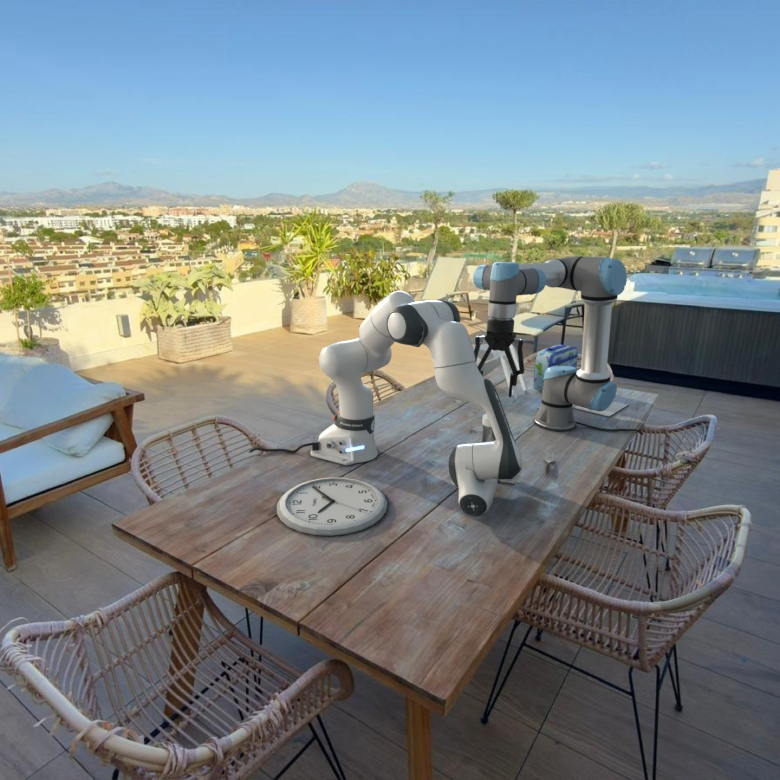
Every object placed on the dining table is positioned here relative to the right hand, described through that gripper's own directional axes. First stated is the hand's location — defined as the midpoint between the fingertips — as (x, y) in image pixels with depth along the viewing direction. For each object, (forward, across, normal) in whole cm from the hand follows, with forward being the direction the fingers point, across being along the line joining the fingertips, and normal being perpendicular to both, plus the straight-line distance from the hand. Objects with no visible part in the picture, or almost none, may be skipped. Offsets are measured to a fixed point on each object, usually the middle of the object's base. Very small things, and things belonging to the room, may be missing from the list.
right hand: (494, 394), depth 155 cm
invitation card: (+26, -39, -81) cm, 94 cm away
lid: (+7, 0, 0) cm, 7 cm away
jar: (+26, 0, 0) cm, 26 cm away
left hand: (+20, 0, +2) cm, 20 cm away
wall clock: (+26, +38, +33) cm, 57 cm away
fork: (+26, -18, -11) cm, 33 cm away
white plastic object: (+26, +14, -84) cm, 89 cm away
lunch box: (+26, -19, -101) cm, 106 cm away
